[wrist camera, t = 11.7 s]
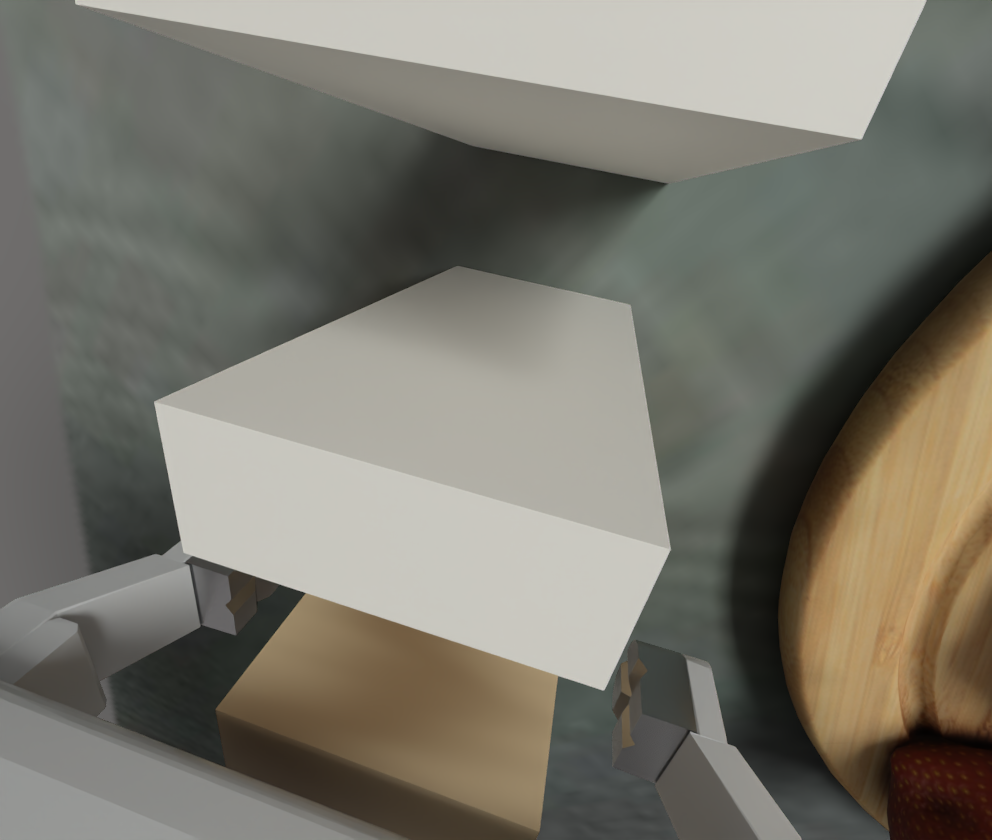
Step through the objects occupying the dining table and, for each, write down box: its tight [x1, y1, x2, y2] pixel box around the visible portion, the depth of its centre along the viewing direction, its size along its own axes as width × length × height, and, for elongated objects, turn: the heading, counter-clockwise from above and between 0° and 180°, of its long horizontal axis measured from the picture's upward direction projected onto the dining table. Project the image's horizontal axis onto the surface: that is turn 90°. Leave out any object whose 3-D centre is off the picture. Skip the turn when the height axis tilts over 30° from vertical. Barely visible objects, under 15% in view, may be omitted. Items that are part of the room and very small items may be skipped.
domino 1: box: [75, 0, 927, 184], centre depth 7 cm, size 5×2×10 cm, turn 80°
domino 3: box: [215, 593, 558, 840], centre depth 11 cm, size 5×2×10 cm, turn 80°
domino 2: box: [154, 266, 671, 691], centre depth 9 cm, size 5×2×10 cm, turn 79°
